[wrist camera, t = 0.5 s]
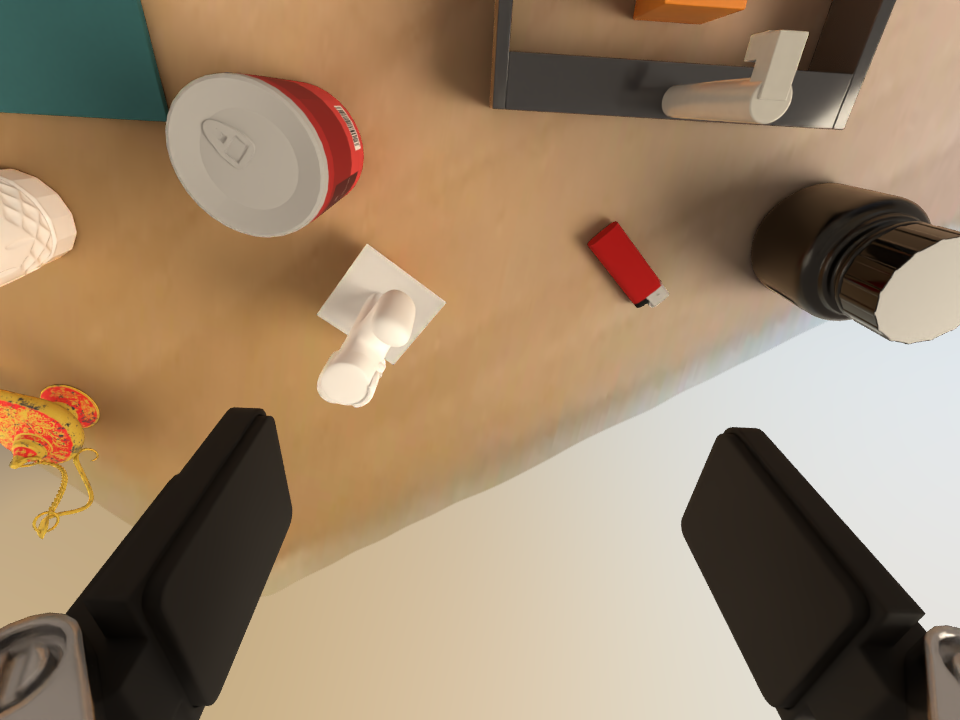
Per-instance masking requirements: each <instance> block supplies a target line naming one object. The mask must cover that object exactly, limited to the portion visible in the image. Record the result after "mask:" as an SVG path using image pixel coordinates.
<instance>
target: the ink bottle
mask: <svg viewBox="0 0 960 720" xmlns="http://www.w3.org/2000/svg"><path fill="white" fill-rule="evenodd" d="M751 260H752V266H753V269H754V272H755V274H756V276H757V278H758V279H759V280H760V282H761V283H762V284H763V285H765V286H766V287H767V288H769V289H770V290H772V291H773V292H775V293H777V294H778V295H780V296H782V297H783V298H785V299H786V300H788V301H790V302H791V303H793V304H794V305H796V306H798V307H799V308H801V309H803V310H805V311H806V312H808V313H810V314H811V315H813V316H816V317H818V318H821V319H825V320H832V321H841V320H851V319H853V320H854V321H855V322H857V323H859V324H861V325H863V326H864V327H866V328H868V329H870V330H871V331H873V332H875V333H877V334H879V335H880V336H882V337H884V338H886V339H888V340H889V341H896V342H902V343H905V344H912V343H916V342H922V341H930V340H933V339H934V338H936V337H938V336H940V335H943V334H945V333H947V332H949V331H952V330H954V329H956V328H957V327H958V326H959V325H960V232H959V231H955V230H952V229H948V228H944V227H940V226H934V225H932V224H931V223H930V220H929V218H928V216H927V214H926V213H925V211H924V210H923V209H922V208H921V207H920V206H919V205H917V204H916V203H914V202H913V201H911V200H908V199H906V198H903V197H899V196H895V195H890V194H886V193H881V192H876V191H872V190H867V189H863V188H858V187H853V186H849V185H844V184H839V183H822V184H817V185H813V186H809V187H806V188H804V189H801V190H799V191H797V192H795V193H794V194H792V195H790V196H789V197H787V198H785V199H784V200H783V201H781V202H780V203H779V204H778V205H776V206H775V207H774V208H773V209H772V210H771V211H770V212H769V213H768V214H767V216H766V217H765V218H764V219H763V221H762V222H761V224H760V226H759V227H758V229H757V231H756V234H755V236H754V240H753V244H752V250H751Z"/></svg>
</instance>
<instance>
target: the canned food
mask: <svg viewBox="0 0 960 720" xmlns="http://www.w3.org/2000/svg"><path fill="white" fill-rule="evenodd" d="M165 132H166V145H167V150H168V153H169V157H170V161H171V164H172V166H173V168H174V170H175V173H176V175H177V177H178V179H179V180H180V182H181V184H182V185H183V187H184V188H185V190H186V191H187V193H188V194H189V195H190V196H191V197H192V199H193V200H194V201H195V202H196V203H197V204H198V205H199V206H200V207H201V208H202V209H203V210H204V211H205V212H207V213H208V214H209V215H210V216H211V217H213V218H214V219H216V220H217V221H219V222H220V223H222V224H223V225H225V226H227V227H229V228H231V229H234V230H236V231H238V232H240V233H244V234H248V235H252V236H257V237H277V236H283V235H286V234H289V233H292V232H295V231H298V230H300V229H301V228H303V227H304V226H306V225H307V224H309V223H310V222H312V221H313V220H315V219H316V218H317V217H319V216H320V215H321V214H323V213H324V212H325V211H326V210H328V209H329V208H330V207H331V206H333V205H334V204H335V203H336V202H338V201H339V200H340V199H342V198H343V197H344V196H345V195H347V194H348V193H349V192H350V191H351V190H352V189H353V188H354V186H355V185H356V183H357V181H358V179H359V177H360V174H361V171H362V168H363V159H364V155H363V144H362V141H361V137H360V133H359V131H358V129H357V126H356V124H355V122H354V120H353V119H352V117H351V116H350V114H349V112H348V111H347V110H346V109H345V108H344V106H343V105H342V104H341V103H340V102H339V101H338V100H337V99H336V98H334V97H333V96H332V95H331V94H329V93H328V92H326V91H324V90H323V89H321V88H319V87H317V86H314V85H311V84H308V83H305V82H298V81H291V80H285V79H278V78H271V77H264V76H257V75H250V74H241V73H229V72H225V73H217V74H211V75H205V76H203V77H200V78H198V79H195V80H193V81H191V82H190V83H189V84H187V85H186V86H185V87H184V88H182V89H181V90H180V92H179V93H178V94H177V96H176V97H175V98H174V100H173V101H172V104H171V107H170V109H169V112H168V114H167V121H166V129H165Z"/></svg>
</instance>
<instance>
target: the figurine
mask: <svg viewBox="0 0 960 720" xmlns="http://www.w3.org/2000/svg"><path fill="white" fill-rule="evenodd" d="M445 304H446V302H445V301H444V300H443V299H441V298H440V297H439V296H437V295H436V294H434V293H433V292H432V291H430V290H429V289H428V288H426V287H425V286H424V285H422V284H421V283H420V282H418V281H417V280H416V279H414V278H413V277H412V276H410V275H409V274H408V273H406V272H405V271H403V270H402V269H401V268H399V267H398V266H397V265H395V264H394V263H393V262H391V261H390V260H389V259H387V258H386V257H385V256H383V255H382V254H381V253H379V252H378V251H377V250H375V249H374V248H372V247H371V246H370V245H368V244H366V246H365V247H364V248H363V250H362V251H361V253H360V254H359V255H358V257H357V258H356V260H355V261H354V262H353V264H352V265H351V267H350V268H349V269H348V271H347V272H346V274H345V275H344V277H343V278H342V279H341V281H340V282H339V284H338V285H337V286H336V288H335V289H334V291H333V292H332V293H331V295H330V296H329V298H328V299H327V300H326V302H325V303H324V305H323V306H322V307H321V309H320V310H319V312H318V313H317V315H318V316H319V317H321V318H322V319H324V320H325V321H327V322H328V323H330V324H331V325H333V326H334V327H336V328H337V329H339V330H341V331H342V332H344V333H345V334H347V335H348V336H347V338H346V339H345V341H344V343H343V344H342V346H341V348H340V350H339V351H335V352H334V353H332V354H331V356H330V358H329V360H328V361H327V363H326V365H325V367H324V368H323V370H322V372H321V374H320V376H319V378H318V382H317V390H318V393H319V395H320V396H321V397H322V398H323V399H324V400H325V401H327V402H330V403H339V404H342V405H352V406H354V407H361V406H363V405H365V404H367V403H368V402H369V401H370V400H371V399H372V397H373V395H374V392H375V389H376V386H377V384H378V381H379V378H380V377H382V373H383V371H384V370H385V368H386V365H385V363H386V361H385V360H387V361H388V362H390V363H391V364H393V365H394V364H395V363H396V361H397V360H398V359H399V358H400V357H401V355H402V354H403V353H404V352H405V351H406V350H407V348H408V347H409V346H410V345H411V344H412V342H413V341H414V340H415V339H416V338H417V337H418V335H419V334H420V333H421V332H422V331H423V330H424V328H425V327H426V326H427V325H428V324H429V322H430V321H431V320H432V319H433V318H434V317H435V315H436V314H437V313H438V312H439V311H440V309H441V308H442V307H443V306H444V305H445ZM384 359H385V360H384Z"/></svg>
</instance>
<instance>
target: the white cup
mask: <svg viewBox="0 0 960 720" xmlns="http://www.w3.org/2000/svg"><path fill="white" fill-rule="evenodd" d="M76 235H77V231H76V227H75V224H74V220H73V216H72V213H71V212H70V210H69V209H68V207H67V206H66V205H65V203H64V202H63V200H62V199H61V198H60V196H59V195H58V194H57V193H56V192H55V191H54V190H52V189H51V188H50V187H48V186H47V185H46V184H44V183H43V182H42V181H41V180H39V179H38V178H36V177H34V176H31V175H28V174H26V173H23V172H20V171H18V170H15V169H0V287H2V286H4V285H6V284H8V283H11V282H13V281H15V280H17V279H19V278H21V277H23V276H25V275H27V274H29V273H31V272H33V271H35V270H37V269H39V268H41V267H42V266H43V265H45V264H47V263H49V262H52V261H54V260H56V259H58V258H60V257H61V256H63V255H64V254H66V253H67V252H69V251H70V250H71V249H72V248H73V245H74V241H75V238H76Z"/></svg>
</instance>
